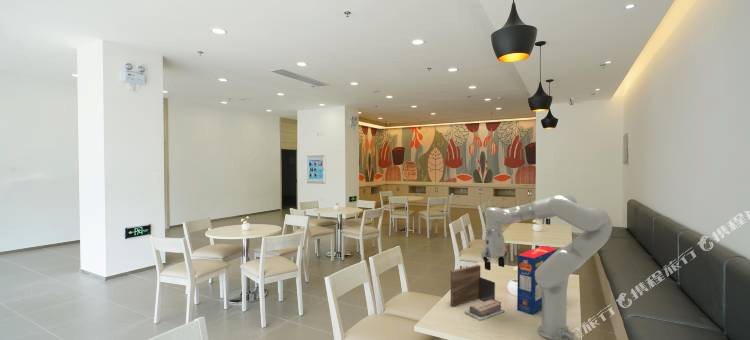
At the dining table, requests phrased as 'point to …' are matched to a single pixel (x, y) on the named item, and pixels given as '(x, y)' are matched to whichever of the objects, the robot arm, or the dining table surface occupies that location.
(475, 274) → the shelf panel
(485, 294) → the bookend
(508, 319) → the dining table surface
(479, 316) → the packaged product
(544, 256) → the pasta box
